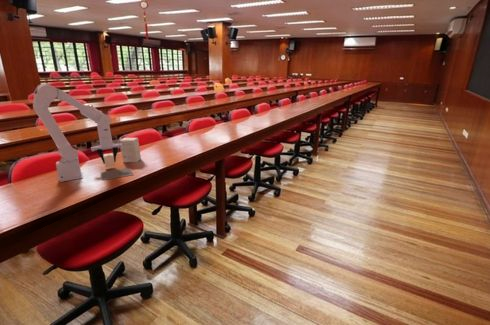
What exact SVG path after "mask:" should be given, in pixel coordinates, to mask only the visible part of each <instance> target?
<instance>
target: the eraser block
mask: <svg viewBox="0 0 490 325" xmlns="http://www.w3.org/2000/svg"><path fill="white" fill-rule="evenodd" d="M103 157H104V161H105V164H104V166H105V168H110V167H116V162H114V156H113V152H110V153H103Z"/></svg>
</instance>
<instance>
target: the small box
mask: <svg viewBox="0 0 490 325" xmlns="http://www.w3.org/2000/svg"><path fill="white" fill-rule="evenodd" d="M121 143H122V147H123V148H120V150H121V156H122V157H121V158H122V163H138V162H139V161H140V160H142V157H141V156H142V155H141V150H140V144H139V138H138V137H124V138H122V139H119V144H121Z"/></svg>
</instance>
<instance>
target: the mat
mask: <svg viewBox="0 0 490 325" xmlns="http://www.w3.org/2000/svg"><path fill="white" fill-rule="evenodd" d="M100 176H101V181H107V180H108V181H109V180H112V179H119V177H120V178H125V177H130V176H134V173H133V171H132V169H131V167H125V168H120V169H113V170H107V171H100Z"/></svg>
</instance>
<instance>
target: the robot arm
mask: <svg viewBox="0 0 490 325" xmlns="http://www.w3.org/2000/svg"><path fill="white" fill-rule="evenodd" d="M54 100H58V101H63V102H65V103H66V104H69V105H70V106H73V107H74V108H76V109H78V110H79V112H80V114H81V115H82V116H84V117H86V118H88V119H89V120H91V121H93V122H94V123H96V126H97V127H96V128H97V133H98V134H97V135H98V138H99V139H98V140H99V145H95V146H91V147H90V150H91V152H95V151H96V153H97V154H98V156H99V158H100V159H101V160H102V163H103V164H104V165H105V161H104V156H103V154H104V152H103V151H104V150H112V153H113V156H114V162H115V163H116V162H117V161H116V160H117V159H116V158H117V156H118V151H119V149H121V148H123V147H122V143H121V144H120V143H113V137H112V133H111V126H110V124H111V122H112V120H111V119H110V117H109V115H107V114H106V113H103V111H102V110H99V109H97V108H96V107H94V105H93V104H89V103H82V102H80V100H78V99H76V98H74V97H73V96H72V95H70V94H68V93H67V92H65V91H63V90H62V89H60V88H56V87H55V86H53V85H51V84H46V83H41V84H38V85H37V87H35V90H34V91H33V101H32V108H33V110H34V112H35V113H36V115H37V116H38V118H39V119H40V122H42V124H43V127H44V128H45V129H46V131H47V132H48V134H49V135H50V137H51V138H52V140H53V142H54V144H55V146H56V147H57V153H58V155H59V156H60V157H61V158H60V160H58V161H56V162H55V165H56V171H57V177H58V179H59V182H61V183H62V182H67V181H73V180H79V179H83V176H84V172H82V170H81V166H80V161H79V153H78V151H77V150H76V149H75V148H74V147H72V145H71V143H70V142H69V141H68V139H67V138H66V136H65V135H64V133H63V131H62V130H61V128H60V126H59V125H58V123H57V121H56V119H55V118H54V116H53V115H52V113H51V111H50V110H49V107H50V105H51V103H52V102H53V101H54Z"/></svg>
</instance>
